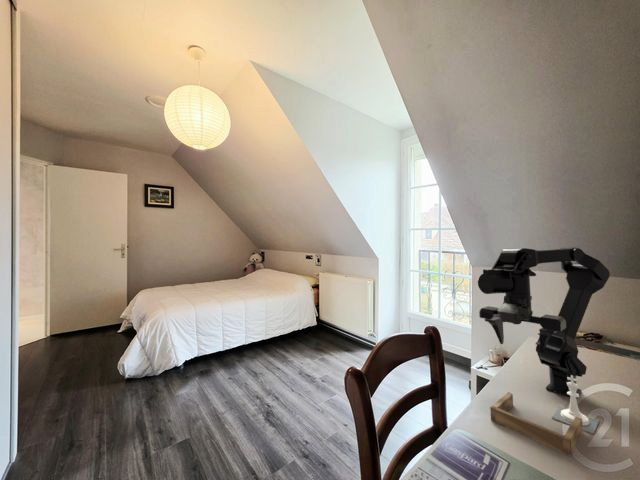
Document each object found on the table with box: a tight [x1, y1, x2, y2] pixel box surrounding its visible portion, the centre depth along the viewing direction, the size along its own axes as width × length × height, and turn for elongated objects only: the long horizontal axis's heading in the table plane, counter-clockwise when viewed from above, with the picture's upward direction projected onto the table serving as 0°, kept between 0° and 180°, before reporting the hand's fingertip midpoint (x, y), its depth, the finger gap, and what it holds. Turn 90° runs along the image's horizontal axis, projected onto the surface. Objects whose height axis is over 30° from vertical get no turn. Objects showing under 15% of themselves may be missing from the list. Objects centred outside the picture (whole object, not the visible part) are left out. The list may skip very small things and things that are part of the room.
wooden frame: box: [490, 392, 584, 457], centre depth 60 cm, size 11×14×3 cm
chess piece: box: [561, 375, 589, 425], centre depth 62 cm, size 5×5×10 cm
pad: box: [551, 406, 600, 435], centre depth 62 cm, size 7×7×1 cm
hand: (520, 348), depth 73 cm, fingers open, 9 cm apart
